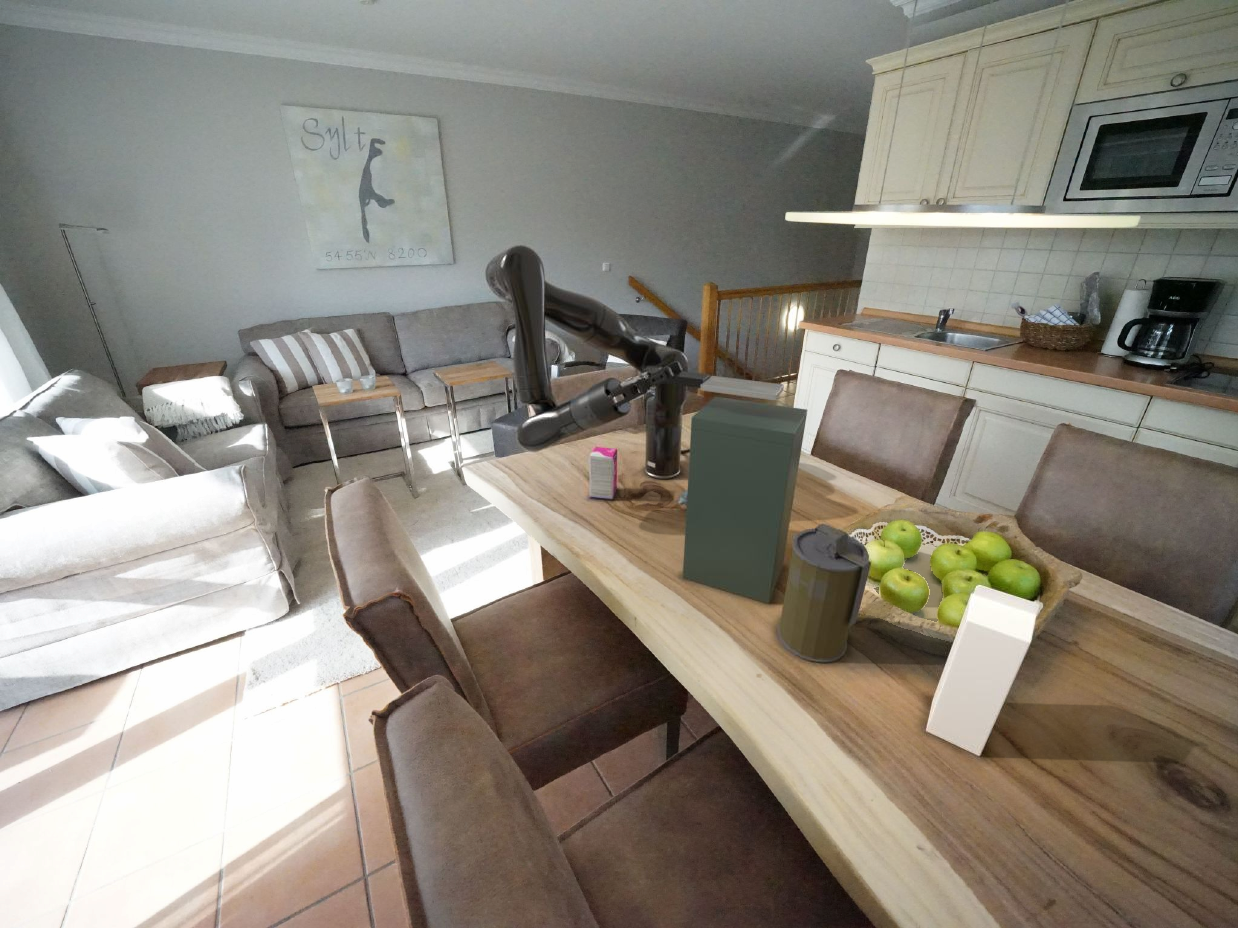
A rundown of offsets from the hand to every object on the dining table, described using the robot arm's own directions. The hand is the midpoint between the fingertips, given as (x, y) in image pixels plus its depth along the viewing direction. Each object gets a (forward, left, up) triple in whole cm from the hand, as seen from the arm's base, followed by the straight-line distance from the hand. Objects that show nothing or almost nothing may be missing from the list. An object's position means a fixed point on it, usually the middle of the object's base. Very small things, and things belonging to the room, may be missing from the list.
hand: (675, 369), depth 86 cm
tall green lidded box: (0, +13, -38) cm, 40 cm away
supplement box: (-16, -24, -38) cm, 47 cm away
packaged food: (-21, +1, -38) cm, 43 cm away
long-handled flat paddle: (0, +7, -2) cm, 7 cm away
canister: (+11, +29, -38) cm, 49 cm away
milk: (+19, +48, -38) cm, 64 cm away
